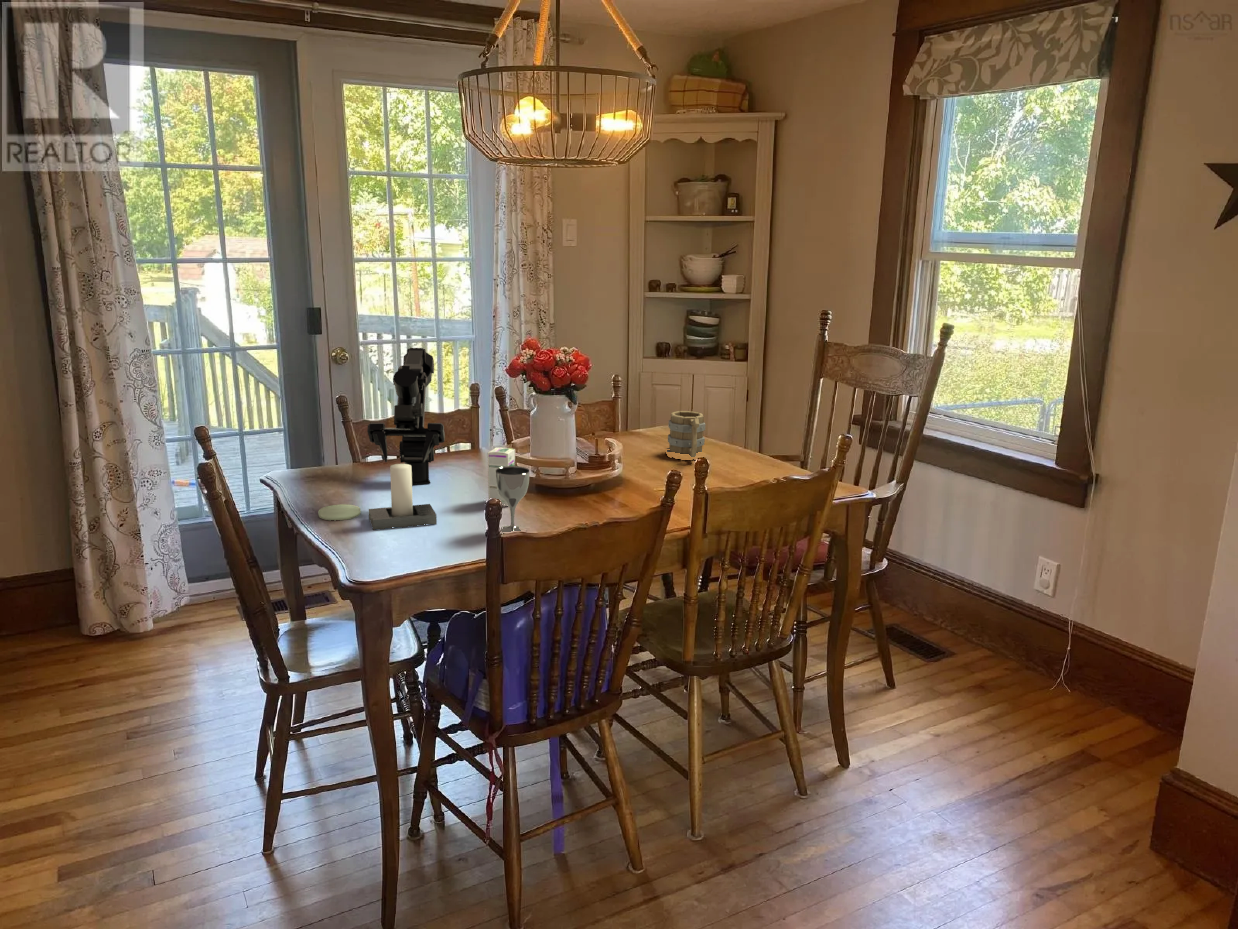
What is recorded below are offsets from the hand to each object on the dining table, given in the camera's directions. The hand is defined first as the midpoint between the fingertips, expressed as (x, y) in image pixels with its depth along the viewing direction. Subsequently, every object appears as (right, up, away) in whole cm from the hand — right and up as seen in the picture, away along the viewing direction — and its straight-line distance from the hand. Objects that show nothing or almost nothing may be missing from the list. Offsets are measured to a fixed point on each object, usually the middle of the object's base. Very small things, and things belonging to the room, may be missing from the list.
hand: (404, 461), depth 221 cm
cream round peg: (0, -15, -4) cm, 15 cm away
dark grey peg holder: (0, -15, -4) cm, 15 cm away
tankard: (+76, +1, +65) cm, 100 cm away
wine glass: (+28, -17, -8) cm, 34 cm away
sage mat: (-16, -13, 0) cm, 21 cm away
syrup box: (+23, -11, +13) cm, 28 cm away
